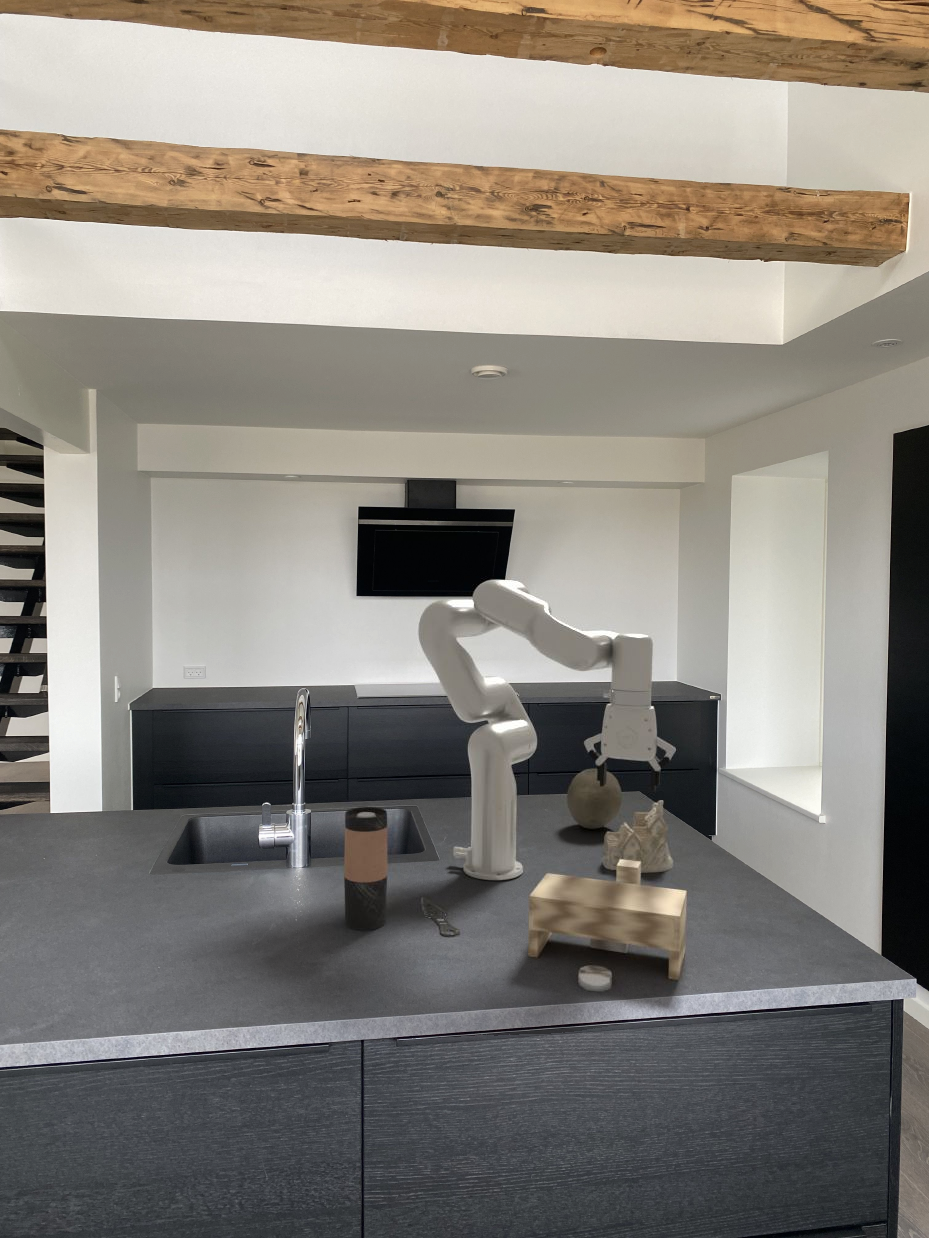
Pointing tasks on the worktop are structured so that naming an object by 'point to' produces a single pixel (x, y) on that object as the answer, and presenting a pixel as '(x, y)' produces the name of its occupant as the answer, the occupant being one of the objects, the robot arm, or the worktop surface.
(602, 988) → the steel puck
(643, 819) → the ceramic cottage
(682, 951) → the oak bench
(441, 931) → the throwing knife
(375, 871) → the travel mug
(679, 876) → the worktop surface
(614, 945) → the tan piece
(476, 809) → the robot arm
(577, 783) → the cantaloupe
